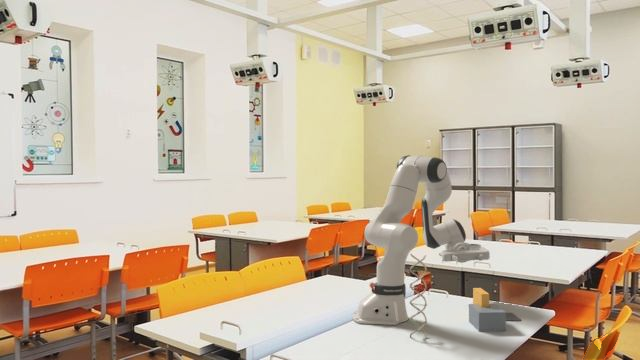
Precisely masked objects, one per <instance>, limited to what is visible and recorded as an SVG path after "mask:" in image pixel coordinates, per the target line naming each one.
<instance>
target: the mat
mask: <svg viewBox="0 0 640 360" xmlns="http://www.w3.org/2000/svg"><path fill="white" fill-rule="evenodd" d="M520 321H522V319H521V318H520V317H519V316H517V315H516V314H514V313H513V312H506V322H520Z"/></svg>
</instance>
